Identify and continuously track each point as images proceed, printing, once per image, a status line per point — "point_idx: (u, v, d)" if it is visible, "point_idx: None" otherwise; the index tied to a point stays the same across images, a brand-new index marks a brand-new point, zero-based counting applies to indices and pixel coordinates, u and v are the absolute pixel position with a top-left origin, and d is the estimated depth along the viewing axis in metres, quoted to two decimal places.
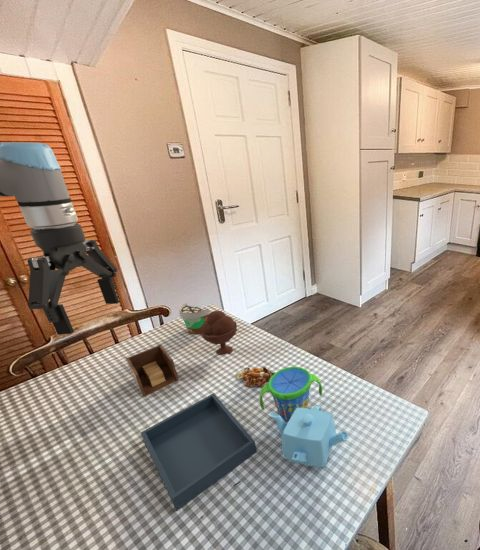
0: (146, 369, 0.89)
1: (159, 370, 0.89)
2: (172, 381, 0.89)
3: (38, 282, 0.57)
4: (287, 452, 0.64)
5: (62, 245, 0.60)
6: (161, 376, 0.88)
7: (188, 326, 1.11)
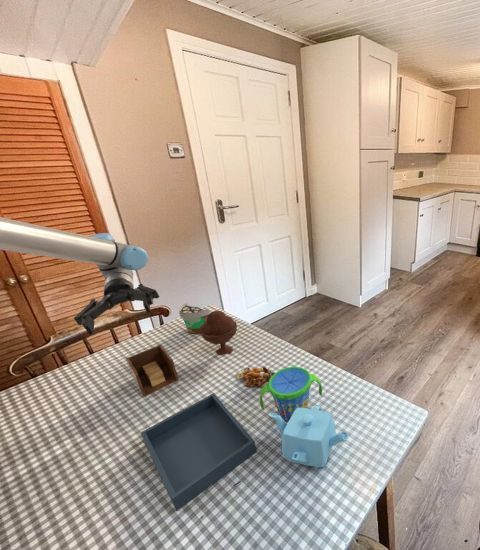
0: (146, 369, 0.89)
1: (159, 370, 0.89)
2: (172, 381, 0.89)
3: None
4: (287, 452, 0.64)
5: None
6: (161, 376, 0.88)
7: (188, 326, 1.11)
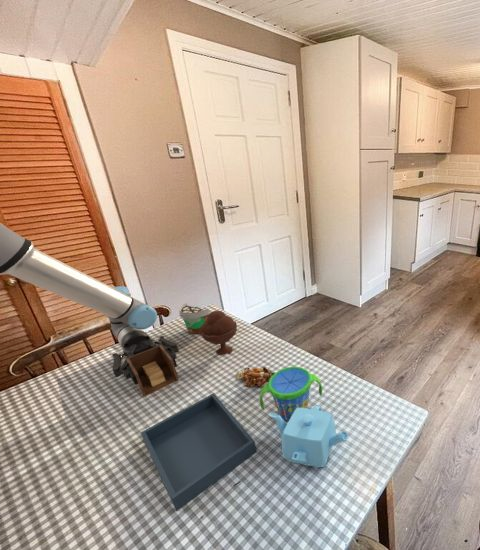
0: (146, 369, 0.89)
1: (159, 370, 0.89)
2: (172, 381, 0.89)
3: None
4: (287, 452, 0.64)
5: None
6: (161, 376, 0.88)
7: (188, 326, 1.11)
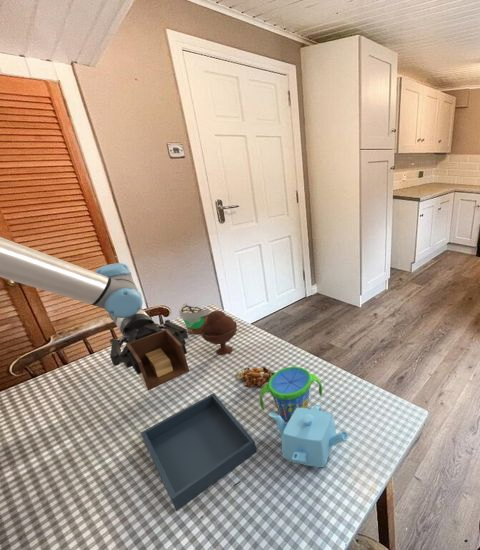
0: (150, 357, 0.76)
1: (166, 358, 0.75)
2: (181, 371, 0.76)
3: None
4: (287, 452, 0.64)
5: None
6: (167, 364, 0.75)
7: (188, 326, 1.11)
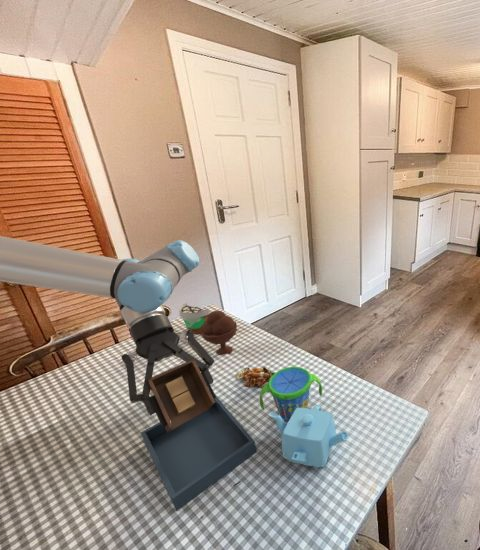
0: (172, 393, 0.66)
1: (190, 399, 0.67)
2: (202, 409, 0.71)
3: None
4: (287, 452, 0.64)
5: None
6: (191, 406, 0.68)
7: (188, 326, 1.11)
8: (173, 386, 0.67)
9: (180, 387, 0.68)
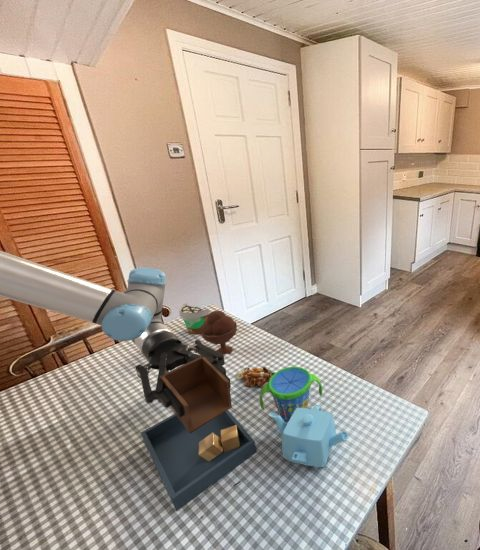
0: None
1: None
2: (223, 407, 0.67)
3: None
4: (287, 452, 0.64)
5: None
6: None
7: (188, 326, 1.11)
8: None
9: None
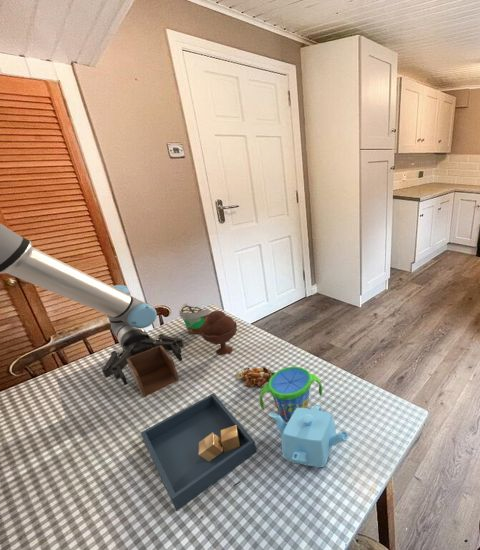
0: None
1: None
2: (172, 381, 0.89)
3: None
4: (287, 452, 0.64)
5: None
6: None
7: (188, 326, 1.11)
8: None
9: None
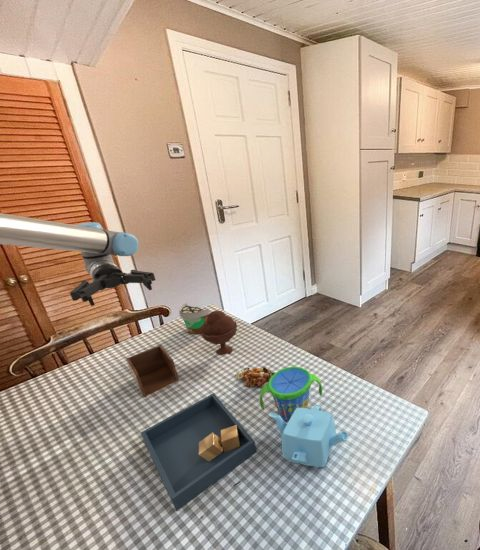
0: None
1: None
2: (172, 381, 0.89)
3: None
4: (287, 452, 0.64)
5: None
6: None
7: (188, 326, 1.11)
8: None
9: None
